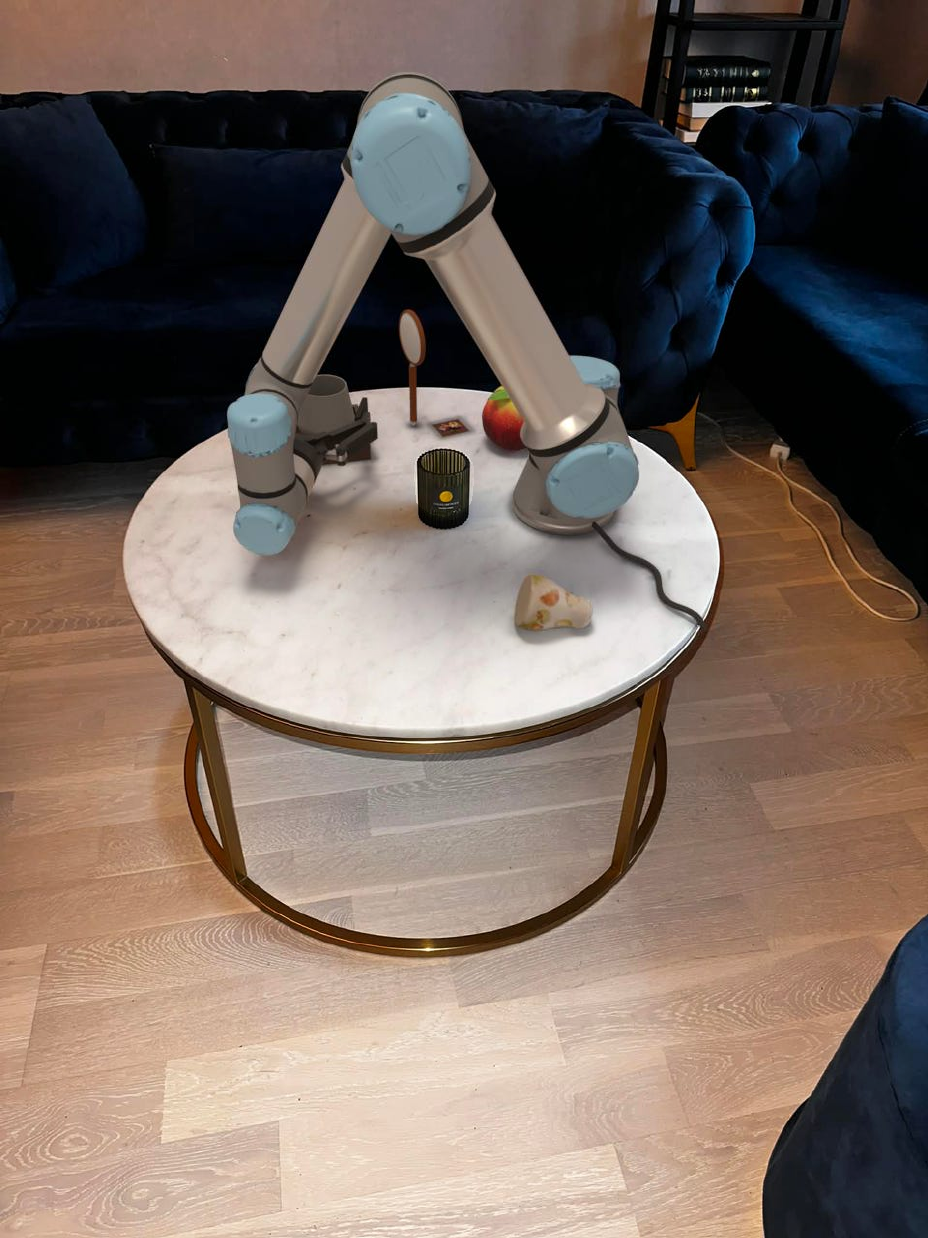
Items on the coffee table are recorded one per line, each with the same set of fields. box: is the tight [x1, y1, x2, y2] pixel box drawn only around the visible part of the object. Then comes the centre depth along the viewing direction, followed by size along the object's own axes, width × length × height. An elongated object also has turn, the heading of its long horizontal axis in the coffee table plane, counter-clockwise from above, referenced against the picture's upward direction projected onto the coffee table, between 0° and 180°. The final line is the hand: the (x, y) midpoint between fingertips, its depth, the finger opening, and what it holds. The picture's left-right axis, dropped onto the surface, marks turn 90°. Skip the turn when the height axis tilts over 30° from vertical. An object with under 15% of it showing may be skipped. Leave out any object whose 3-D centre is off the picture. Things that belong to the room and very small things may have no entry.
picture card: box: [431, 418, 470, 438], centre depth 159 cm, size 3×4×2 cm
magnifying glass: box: [398, 309, 427, 427], centre depth 153 cm, size 9×2×20 cm, turn 27°
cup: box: [297, 374, 355, 442], centre depth 151 cm, size 10×9×10 cm
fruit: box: [481, 385, 527, 452], centre depth 153 cm, size 11×11×10 cm
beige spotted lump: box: [514, 574, 594, 631], centre depth 120 cm, size 8×10×10 cm
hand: (322, 401), depth 148 cm, fingers open, 13 cm apart
